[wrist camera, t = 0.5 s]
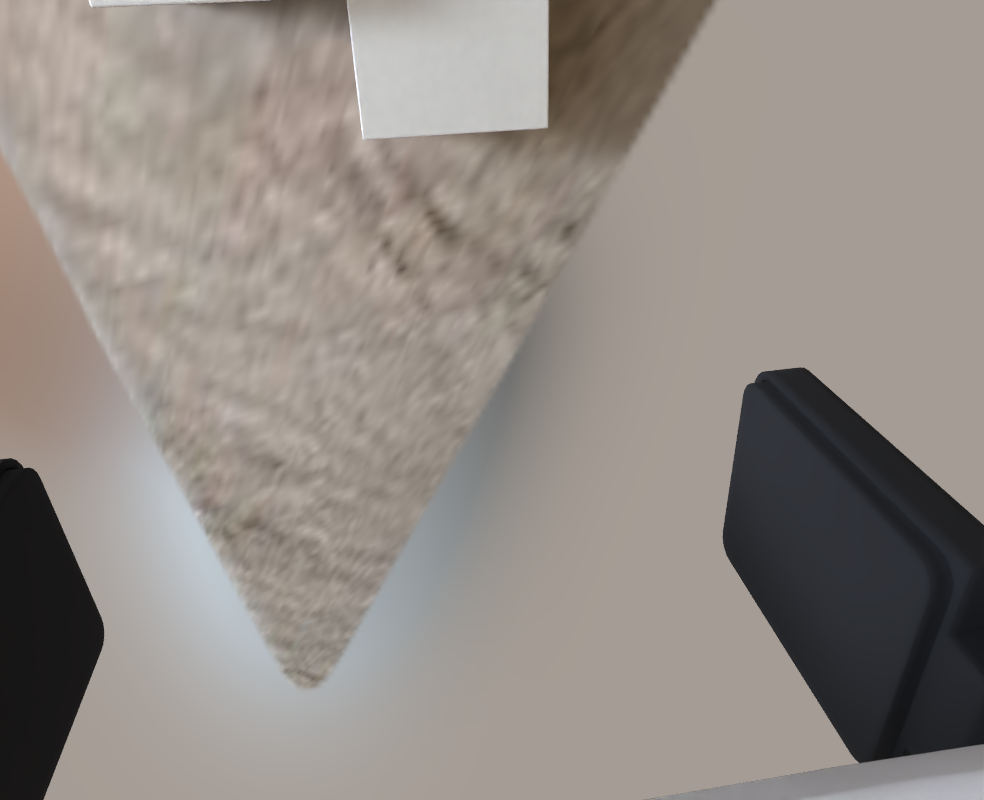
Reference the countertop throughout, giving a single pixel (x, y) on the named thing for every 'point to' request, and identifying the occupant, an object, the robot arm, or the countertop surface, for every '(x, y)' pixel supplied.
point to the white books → (450, 66)
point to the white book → (153, 2)
